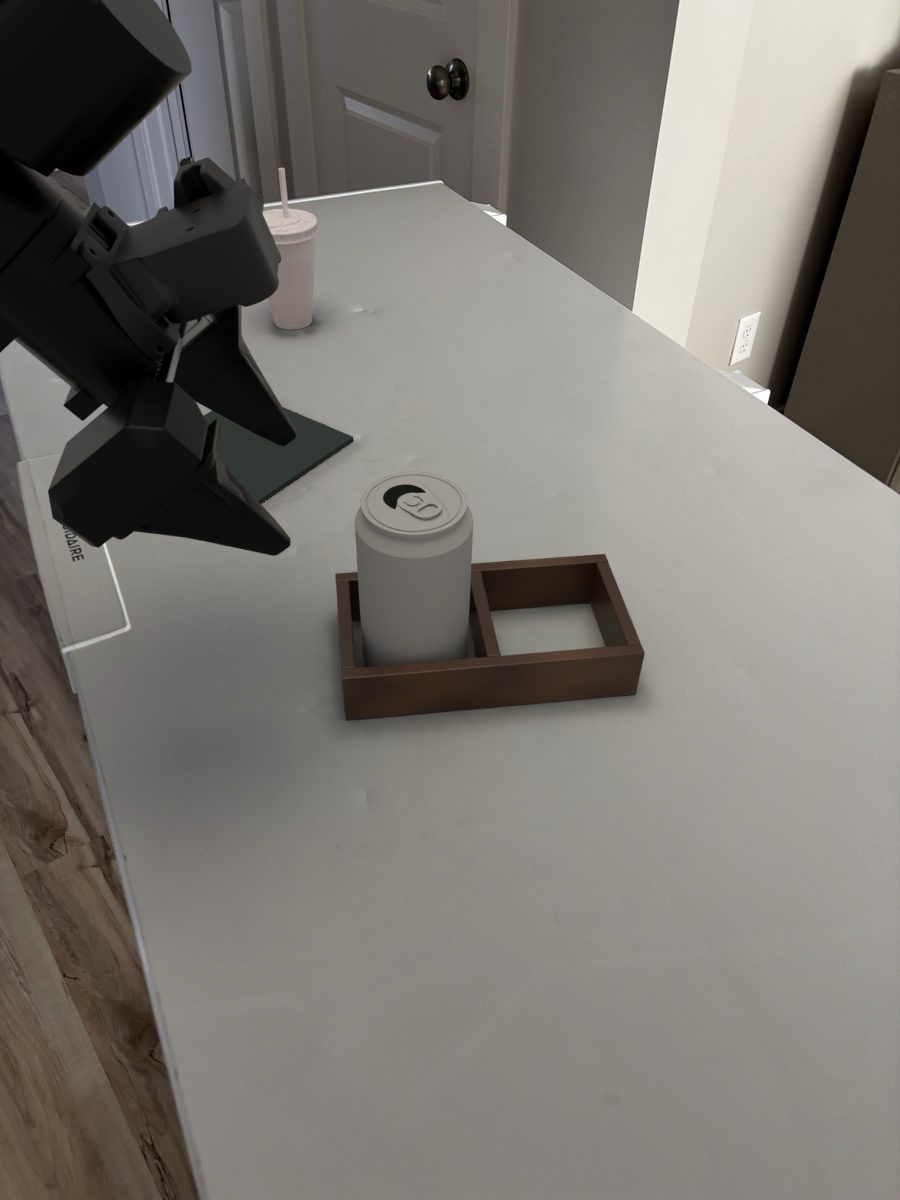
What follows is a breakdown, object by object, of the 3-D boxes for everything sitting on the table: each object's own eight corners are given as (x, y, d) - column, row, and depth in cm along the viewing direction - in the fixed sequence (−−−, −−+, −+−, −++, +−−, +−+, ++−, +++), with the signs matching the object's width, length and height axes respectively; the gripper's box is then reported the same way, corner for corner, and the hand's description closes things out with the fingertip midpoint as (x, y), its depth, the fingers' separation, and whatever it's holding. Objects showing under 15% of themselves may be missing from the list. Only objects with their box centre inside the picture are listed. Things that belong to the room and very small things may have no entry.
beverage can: (417, 608, 60) (416, 451, 52) (489, 659, 57) (499, 501, 49) (341, 656, 57) (327, 497, 49) (412, 714, 54) (410, 553, 46)
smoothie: (339, 317, 91) (328, 167, 82) (297, 342, 87) (281, 187, 78) (288, 301, 94) (273, 154, 84) (246, 325, 90) (224, 173, 80)
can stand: (345, 720, 53) (341, 679, 51) (338, 614, 60) (335, 573, 57) (636, 694, 55) (645, 653, 53) (598, 593, 62) (605, 553, 59)
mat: (137, 457, 73) (136, 453, 72) (246, 395, 80) (246, 391, 80) (247, 512, 68) (247, 508, 67) (353, 440, 75) (353, 436, 75)
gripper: (107, 201, 27) (429, 519, 37) (182, 52, 41) (403, 310, 50) (-112, 413, 31) (228, 653, 40) (23, 213, 45) (254, 425, 54)
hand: (287, 490), depth 46 cm, fingers open, 9 cm apart
